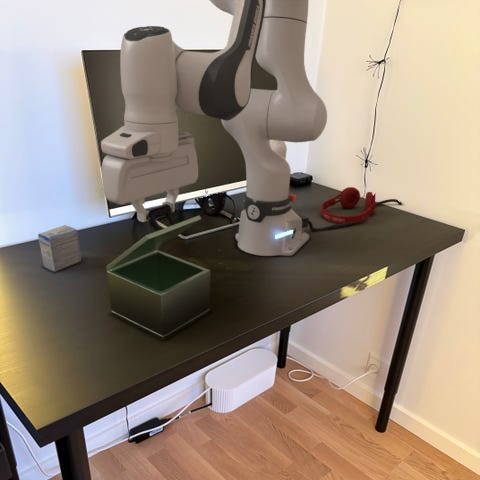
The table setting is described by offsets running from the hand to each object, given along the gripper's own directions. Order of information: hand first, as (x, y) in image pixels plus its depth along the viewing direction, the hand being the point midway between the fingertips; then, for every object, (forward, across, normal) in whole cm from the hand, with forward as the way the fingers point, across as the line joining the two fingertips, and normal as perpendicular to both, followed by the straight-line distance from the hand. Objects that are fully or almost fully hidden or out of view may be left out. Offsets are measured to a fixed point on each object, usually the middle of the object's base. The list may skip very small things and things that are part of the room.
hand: (156, 216), depth 89 cm
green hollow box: (+21, 0, 0) cm, 21 cm away
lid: (+6, 0, -1) cm, 6 cm away
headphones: (+21, -84, +1) cm, 87 cm away
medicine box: (+21, -1, -35) cm, 41 cm away
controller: (+21, -54, -33) cm, 67 cm away
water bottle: (+21, -69, -20) cm, 75 cm away
